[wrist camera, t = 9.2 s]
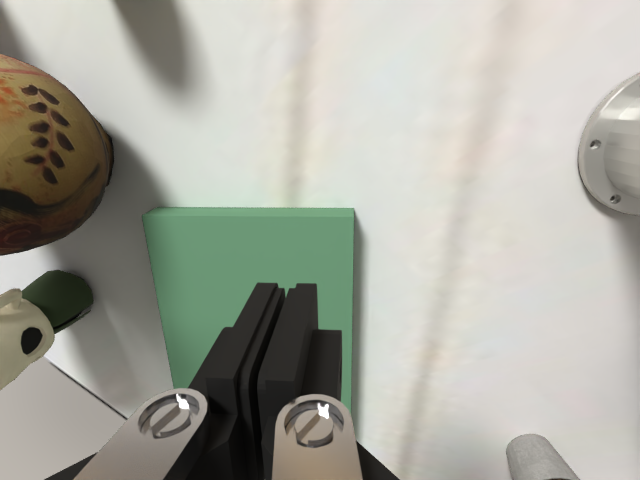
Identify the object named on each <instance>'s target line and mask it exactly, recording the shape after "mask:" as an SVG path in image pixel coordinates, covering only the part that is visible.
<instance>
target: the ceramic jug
mask: <svg viewBox="0 0 640 480" xmlns="http://www.w3.org/2000/svg"><path fill="white" fill-rule="evenodd" d="M113 163H114V151H113V143H112V138H111V137H110V136H109V135H108V134H107V133H106V132H105V131H104V130H103V129H102V127H101V125H100V123H99V122H98V121H97V120H96V119H95V118H94V117H93V116H92V115H91V113H90V112H89V111H88V110H87V108H86V107H85V106H84V105H83V104H82V102H81V101H80V100H79V99H78V98H77V97H76V96H75V95H74V94H73V93H72V92H71V91H70V90H69V89H68V88H67V87H66V86H65V85H63V84H62V83H60V82H59V81H58V80H56V79H55V78H53V77H52V76H51V75H49V74H47V73H45V72H44V71H42V70H40V69H38V68H36V67H34V66H32V65H29V64H27V63H25V62H22V61H20V60H17V59H15V58H11V57H8V56H5V55H2V54H0V256H2V255H8V254H13V253H19V252H24V251H28V250H31V249H34V248H37V247H40V246H43V245H46V244H49V243H52V242H54V241H56V240H59V239H61V238H64V237H65V236H67V235H68V234H70V233H71V232H73V231H74V230H76V229H77V228H79V227H80V226H81V225H82V224H83V223H84V222H85V221H86V220H87V219H88V218H89V217H90V216H91V215H92V214H93V213H94V211H95V210H96V208H97V207H98V205H99V204H100V202H101V200H102V197H103V195H104V192H105V188H106V186H108V185H109V182H110V178H111V175H112V168H113Z"/></svg>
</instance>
